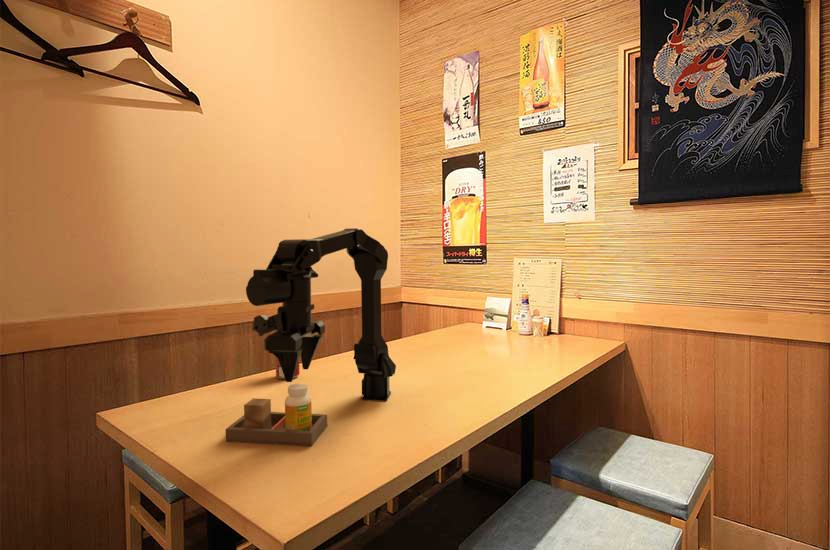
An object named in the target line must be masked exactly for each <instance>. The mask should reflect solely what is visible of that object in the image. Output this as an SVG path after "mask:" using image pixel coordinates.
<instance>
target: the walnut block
mask: <svg viewBox="0 0 830 550" xmlns="http://www.w3.org/2000/svg"><path fill="white" fill-rule="evenodd" d="M271 412H272V401H271V398H253V397H252V399H250V400H249V401H247V402H246V403H245V404H243V413H244V414H243V415H244V424H245V428H256V429H269V428H270V427H271Z"/></svg>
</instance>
